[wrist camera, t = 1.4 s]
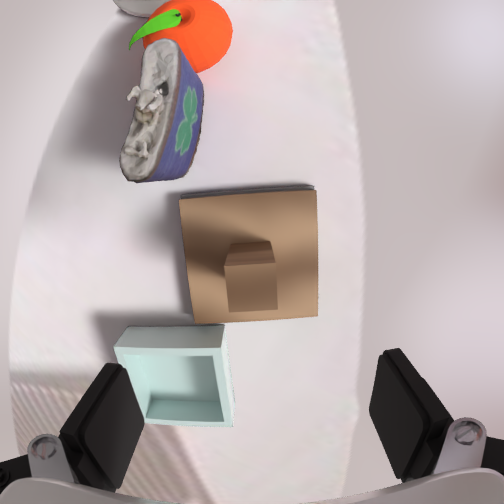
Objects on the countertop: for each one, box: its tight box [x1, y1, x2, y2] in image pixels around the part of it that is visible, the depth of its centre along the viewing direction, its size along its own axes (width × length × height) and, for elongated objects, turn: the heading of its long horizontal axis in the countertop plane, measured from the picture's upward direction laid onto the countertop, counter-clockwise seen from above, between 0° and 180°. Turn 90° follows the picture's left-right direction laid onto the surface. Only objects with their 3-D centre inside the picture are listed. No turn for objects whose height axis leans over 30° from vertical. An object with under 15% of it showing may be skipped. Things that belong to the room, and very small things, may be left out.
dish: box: [113, 325, 235, 427], centre depth 28 cm, size 10×10×4 cm
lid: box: [179, 190, 318, 324], centre depth 23 cm, size 11×11×7 cm
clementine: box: [129, 0, 233, 73], centre depth 18 cm, size 8×7×7 cm
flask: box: [119, 38, 204, 183], centre depth 18 cm, size 9×3×11 cm, turn 170°
